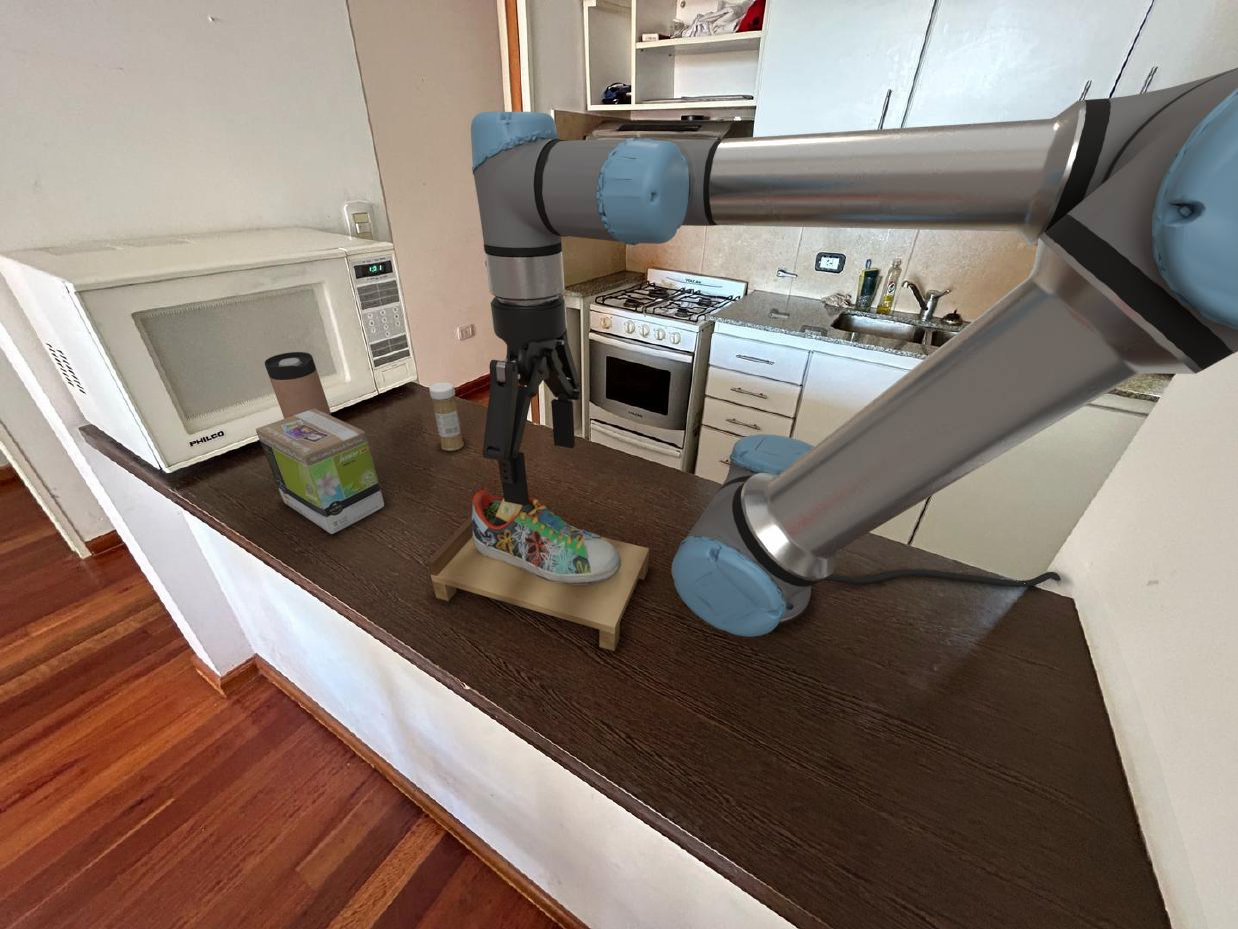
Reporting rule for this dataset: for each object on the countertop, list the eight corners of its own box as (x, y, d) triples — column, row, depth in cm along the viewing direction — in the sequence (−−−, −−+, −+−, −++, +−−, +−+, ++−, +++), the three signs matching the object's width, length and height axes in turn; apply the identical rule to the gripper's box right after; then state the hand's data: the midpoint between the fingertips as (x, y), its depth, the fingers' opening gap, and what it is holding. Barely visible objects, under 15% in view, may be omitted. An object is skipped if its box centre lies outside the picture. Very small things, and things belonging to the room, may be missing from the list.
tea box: (387, 506, 87) (366, 429, 80) (331, 537, 80) (302, 456, 72) (338, 477, 94) (314, 405, 87) (282, 504, 87) (251, 427, 80)
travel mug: (304, 448, 103) (269, 353, 92) (345, 443, 105) (316, 349, 94) (295, 468, 97) (258, 368, 86) (340, 462, 99) (308, 364, 88)
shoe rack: (647, 570, 75) (650, 535, 72) (614, 651, 63) (615, 613, 60) (493, 531, 82) (488, 497, 78) (436, 597, 70) (427, 561, 66)
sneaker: (608, 599, 64) (607, 540, 59) (462, 560, 70) (450, 503, 65) (627, 560, 70) (628, 503, 65) (491, 527, 76) (482, 473, 71)
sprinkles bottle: (464, 440, 107) (454, 380, 100) (463, 451, 103) (453, 389, 96) (441, 442, 106) (429, 382, 99) (440, 453, 102) (427, 391, 95)
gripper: (546, 270, 63) (556, 423, 74) (419, 326, 43) (459, 525, 54) (603, 274, 61) (604, 431, 72) (498, 335, 41) (523, 539, 52)
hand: (542, 471), depth 63 cm, fingers open, 13 cm apart
